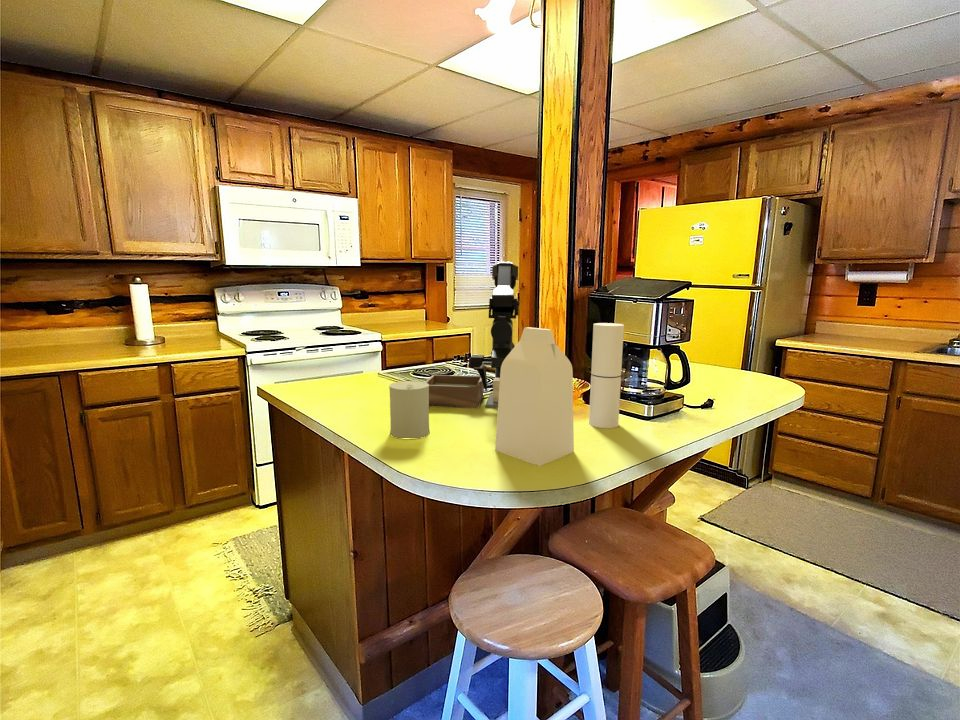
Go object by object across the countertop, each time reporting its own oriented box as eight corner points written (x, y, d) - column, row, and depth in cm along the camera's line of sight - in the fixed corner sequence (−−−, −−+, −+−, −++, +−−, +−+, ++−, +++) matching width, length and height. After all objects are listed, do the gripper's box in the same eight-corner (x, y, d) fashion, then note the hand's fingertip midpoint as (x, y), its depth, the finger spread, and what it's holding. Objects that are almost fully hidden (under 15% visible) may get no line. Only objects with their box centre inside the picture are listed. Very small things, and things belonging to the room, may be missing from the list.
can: (392, 441, 111) (390, 388, 109) (388, 428, 119) (387, 379, 117) (433, 437, 113) (432, 386, 111) (426, 426, 122) (425, 378, 120)
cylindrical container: (587, 426, 122) (592, 325, 118) (590, 418, 129) (594, 322, 125) (617, 429, 120) (623, 326, 116) (618, 421, 127) (624, 323, 123)
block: (494, 397, 147) (494, 377, 146) (509, 398, 147) (510, 378, 146) (492, 401, 143) (493, 380, 142) (508, 401, 142) (509, 381, 141)
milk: (494, 450, 105) (496, 328, 101) (529, 438, 113) (532, 324, 109) (539, 466, 97) (543, 333, 92) (573, 451, 105) (578, 329, 100)
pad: (489, 396, 151) (489, 394, 151) (516, 397, 150) (516, 395, 150) (485, 407, 139) (485, 404, 139) (514, 408, 138) (514, 405, 138)
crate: (432, 393, 155) (432, 374, 154) (483, 395, 153) (483, 376, 152) (421, 406, 140) (421, 385, 139) (477, 408, 138) (477, 387, 137)
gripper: (465, 340, 135) (465, 396, 137) (535, 342, 133) (533, 399, 135) (471, 335, 146) (471, 387, 148) (535, 337, 144) (534, 389, 146)
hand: (501, 391), depth 144 cm, fingers open, 9 cm apart
